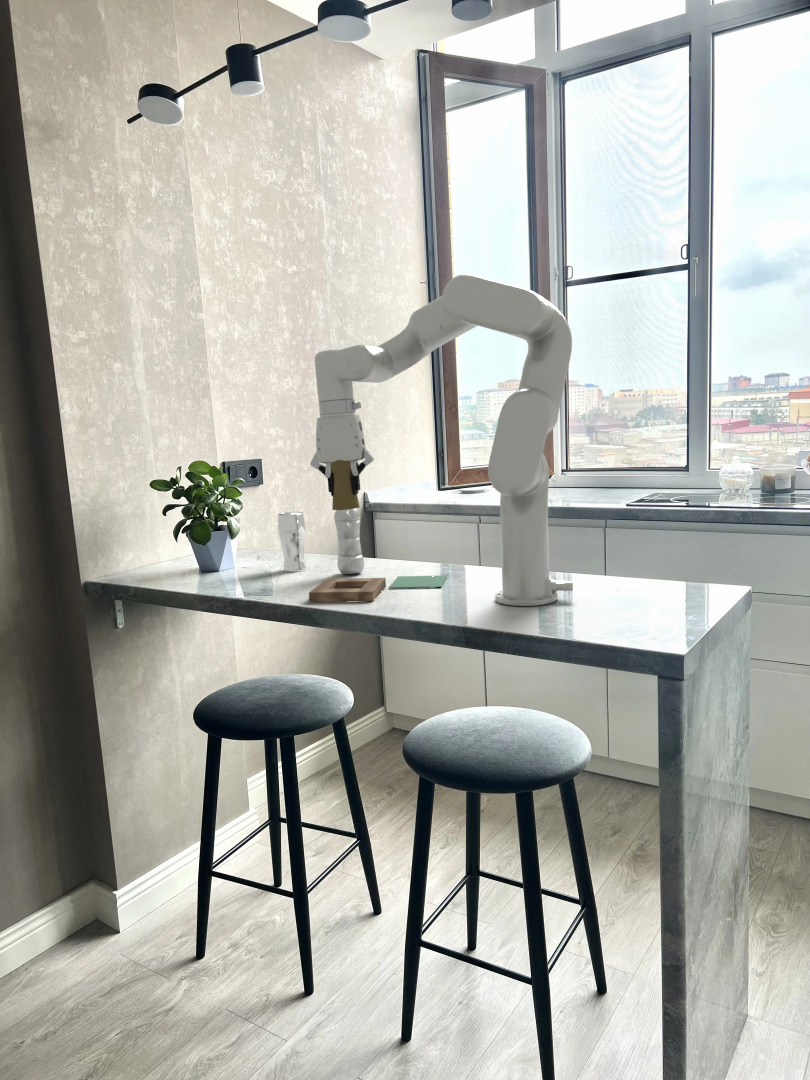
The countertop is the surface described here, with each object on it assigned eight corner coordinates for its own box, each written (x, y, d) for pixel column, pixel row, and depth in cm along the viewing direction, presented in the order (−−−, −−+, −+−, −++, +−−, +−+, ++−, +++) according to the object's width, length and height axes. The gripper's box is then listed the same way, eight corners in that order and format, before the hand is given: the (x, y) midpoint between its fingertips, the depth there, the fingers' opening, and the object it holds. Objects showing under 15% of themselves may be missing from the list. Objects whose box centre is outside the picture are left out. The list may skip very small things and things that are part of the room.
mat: (447, 577, 187) (447, 575, 187) (441, 588, 176) (441, 586, 176) (398, 577, 189) (397, 576, 189) (388, 589, 178) (388, 587, 178)
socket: (386, 587, 180) (385, 577, 180) (373, 601, 166) (372, 591, 166) (326, 588, 182) (326, 578, 182) (309, 602, 169) (308, 592, 168)
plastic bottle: (361, 576, 194) (356, 495, 191) (335, 576, 195) (329, 496, 192) (367, 571, 200) (362, 492, 197) (341, 571, 201) (336, 493, 198)
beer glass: (279, 573, 204) (274, 515, 202) (284, 567, 211) (279, 512, 209) (305, 571, 204) (301, 514, 201) (310, 566, 211) (306, 511, 208)
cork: (362, 505, 174) (357, 455, 172) (357, 508, 168) (352, 457, 166) (335, 507, 174) (330, 458, 173) (329, 510, 169) (324, 459, 167)
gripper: (378, 406, 170) (386, 490, 173) (304, 412, 173) (312, 495, 176) (371, 406, 163) (379, 494, 166) (294, 412, 166) (302, 499, 169)
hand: (344, 493), depth 171 cm, fingers closed on cork, 4 cm apart
